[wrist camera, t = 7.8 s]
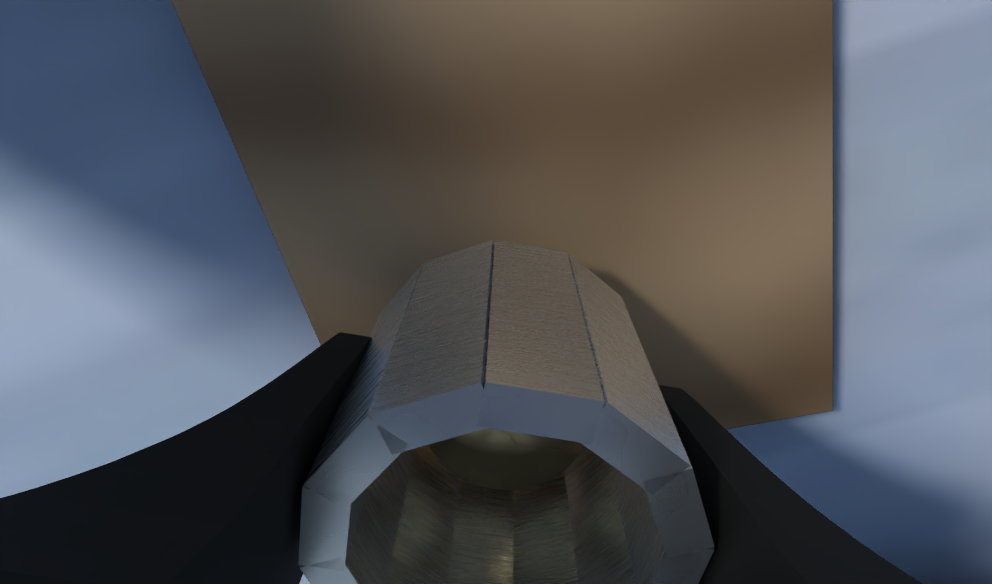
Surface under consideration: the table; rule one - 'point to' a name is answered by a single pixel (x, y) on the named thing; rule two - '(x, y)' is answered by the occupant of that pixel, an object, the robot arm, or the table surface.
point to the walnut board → (555, 163)
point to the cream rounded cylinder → (505, 458)
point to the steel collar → (511, 407)
